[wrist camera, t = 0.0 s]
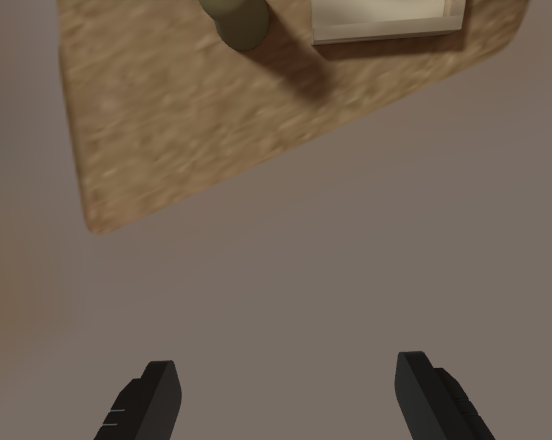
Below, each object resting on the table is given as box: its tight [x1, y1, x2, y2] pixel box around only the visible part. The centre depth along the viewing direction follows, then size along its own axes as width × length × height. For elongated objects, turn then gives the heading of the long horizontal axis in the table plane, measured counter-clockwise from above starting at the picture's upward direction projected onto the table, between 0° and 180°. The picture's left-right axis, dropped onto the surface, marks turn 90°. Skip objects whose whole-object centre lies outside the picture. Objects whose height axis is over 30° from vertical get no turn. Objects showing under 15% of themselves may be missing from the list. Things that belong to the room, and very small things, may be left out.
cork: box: [198, 0, 270, 51], centre depth 26 cm, size 6×6×11 cm
